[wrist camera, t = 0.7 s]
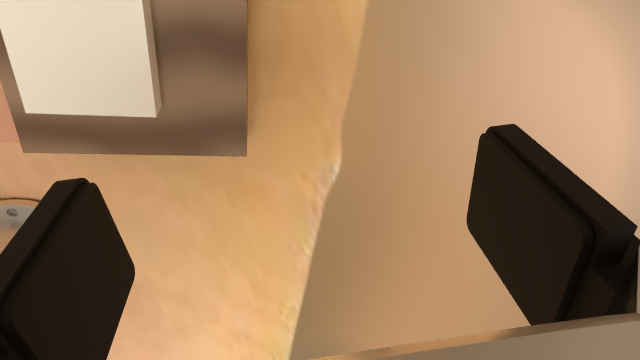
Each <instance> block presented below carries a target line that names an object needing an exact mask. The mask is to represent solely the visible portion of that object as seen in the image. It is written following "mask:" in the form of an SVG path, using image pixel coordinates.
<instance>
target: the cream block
mask: <svg viewBox="0 0 640 360" xmlns="http://www.w3.org/2000/svg"><path fill="white" fill-rule="evenodd" d="M0 29H1V33H2V36H3V39H4V43H5V46H6V49H7V53H8V56H9V59H10V63H11V66H12V69H13V73H14V76H15V79H16V83H17V86H18V89H19V93H20V96H21V99H22V103H23V106H24V109H25V112H26V113H35V114H66V115H97V116H128V117H157V115H158V113H159V111H160V109H161V107H162V104H161V95H160V86H159V77H158V68H157V60H156V51H155V42H154V33H153V24H152V15H151V7H150V0H0Z"/></svg>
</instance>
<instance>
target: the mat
mask: <svg viewBox="0 0 640 360" xmlns="http://www.w3.org/2000/svg"><path fill="white" fill-rule="evenodd" d="M0 141H5V142H20V140H19V137H18V134H17V131H16V128H15V124H14V121H13V118H12V115H11V112H10V109H9V106H8V103H7V100H6V97H5V93H4V90H3V87H2V84H1V81H0Z"/></svg>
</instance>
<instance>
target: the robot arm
mask: <svg viewBox="0 0 640 360" xmlns="http://www.w3.org/2000/svg"><path fill="white" fill-rule="evenodd" d="M467 225H468V229H469V231H470V233H471V234H472V236H473V237H474V239H475V240H476V242H477V244H478V245H479V247H480V248H481V250H482V251H483V253H484V254H485V256H486V257H487V259H488V260H489V262H490V263H491V265H492V266H493V268H494V270H495V271H496V272H497V274H498V276H499V277H500V279H501V280H502V282H503V283H504V285H505V286H506V288H507V289H508V291H509V293H510V294H511V295H512V297H513V299H514V300H515V302H516V303H517V305H518V306H519V308H520V309H521V311H522V312H523V314H524V315H525V317H526V319H527V320H528V321H529V323H530V324H531V326H525V327H518V328H512V329H505V330H499V331H492V332H486V333H479V334H472V335H465V336H459V337H452V338H446V339H439V340H433V341H426V342H419V343H413V344H406V345H399V346H393V347H386V348H380V349H373V350H367V351H361V352H354V353H348V354H341V355H335V356H329V357H322V358H316V359H310V360H640V240H639V239H638V238H637V237H636V236H635V235H634V233H635V231H636V229H637V225H635V224H634V223H633V222H632V221H631V220H629V219H628V218H627V217H626V216H625V215H623V214H622V213H621V212H620V211H619V210H617V209H616V208H615V207H614V206H613V205H611V204H610V203H609V202H608V201H607V200H605V199H604V198H603V197H602V196H601V195H599V194H598V193H597V192H596V191H595V190H593V189H592V188H591V187H590V186H589V185H587V184H586V183H585V182H584V181H583V180H581V179H580V178H579V177H578V176H577V175H575V174H574V173H573V172H572V171H571V170H569V169H568V168H567V167H566V166H565V165H563V164H562V163H561V162H560V161H559V160H557V159H556V158H555V157H554V156H553V155H551V154H550V153H549V152H548V151H547V150H545V149H544V148H543V147H542V146H541V145H539V144H538V143H537V142H536V141H535V140H533V139H532V138H531V137H530V136H529V135H528V134H526V133H525V132H524V131H523V130H521V129H520V128H519V127H518V126H517V125H515V124H508V125H500V126H492V127H489V128H488V129H487V131H486V133H483V134H482V135H481V136H480V139H479V145H478V151H477V157H476V163H475V170H474V176H473V182H472V188H471V195H470V200H469V207H468V213H467ZM134 277H135V268H134V264H133V262H132V260H131V257H130V255H129V253H128V251H127V249H126V247H125V244H124V242H123V240H122V238H121V236H120V234H119V231H118V229H117V227H116V225H115V223H114V221H113V218H112V216H111V214H110V212H109V210H108V208H107V205H106V203H105V201H104V199H103V197H102V194H101V192H100V190H99V188H98V186H97V185H96V184H95V183H89V181H88V180H86V179H85V178H78V179H70V180H62V181H56V182H55V183H54V184H53V185H52V187H51V188H50V189H49V191H48V192H47V193H46V194H45V196H44V197H43V198H42V200H41V201H40V202H36V201H30V200H18V199H8V200H0V360H106V359H107V356H108V353H109V350H110V347H111V345H112V342H113V339H114V336H115V333H116V330H117V327H118V324H119V321H120V318H121V316H122V313H123V310H124V307H125V304H126V301H127V298H128V295H129V292H130V289H131V287H132V284H133V281H134Z"/></svg>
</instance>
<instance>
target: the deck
mask: <svg viewBox="0 0 640 360" xmlns="http://www.w3.org/2000/svg"><path fill="white" fill-rule="evenodd" d="M150 7H151V15H152V24H153V33H154V42H155V51H156V60H157V68H158V77H159V86H160V95H161V104H162V107H161V109H160V111H159V113H158V115H157V117H128V116H97V115H66V114H35V113H26V112H25V109H24V106H23V103H22V99H21V96H20V93H19V89H18V86H17V83H16V79H15V76H14V73H13V69H12V66H11V63H10V59H9V56H8V53H7V49H6V46H5V43H4V39H3V36H2V33H1V29H0V81H1V84H2V87H3V90H4V93H5V97H6V100H7V103H8V106H9V109H10V112H11V115H12V118H13V121H14V124H15V128H16V131H17V134H18V137H19V140H20V143H21V146H22V149H23V152H24V153H76V154H133V155H189V156H246V154H247V0H150Z"/></svg>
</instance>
